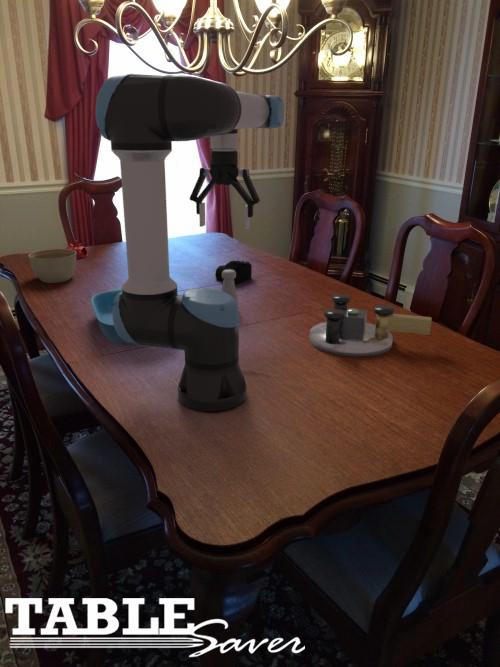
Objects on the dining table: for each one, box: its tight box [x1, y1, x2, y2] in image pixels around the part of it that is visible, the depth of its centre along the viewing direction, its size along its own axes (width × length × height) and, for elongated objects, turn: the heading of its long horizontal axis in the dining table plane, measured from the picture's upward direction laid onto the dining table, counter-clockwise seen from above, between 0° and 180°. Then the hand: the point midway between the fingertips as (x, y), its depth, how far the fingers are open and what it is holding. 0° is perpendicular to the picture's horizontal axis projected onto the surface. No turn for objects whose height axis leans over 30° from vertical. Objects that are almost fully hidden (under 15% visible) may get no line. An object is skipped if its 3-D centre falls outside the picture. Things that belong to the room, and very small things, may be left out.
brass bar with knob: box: [373, 304, 432, 339], centre depth 144 cm, size 15×5×8 cm, turn 74°
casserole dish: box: [90, 287, 132, 345], centre depth 158 cm, size 37×22×7 cm, turn 20°
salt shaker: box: [221, 269, 239, 304], centre depth 170 cm, size 6×6×13 cm
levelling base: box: [309, 293, 394, 358], centre depth 148 cm, size 22×22×10 cm
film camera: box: [215, 260, 253, 286], centre depth 200 cm, size 15×10×9 cm, turn 141°
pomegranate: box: [64, 239, 89, 260], centre depth 227 cm, size 10×10×9 cm
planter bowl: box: [28, 248, 77, 284], centre depth 198 cm, size 16×16×11 cm
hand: (224, 227), depth 160 cm, fingers open, 13 cm apart
